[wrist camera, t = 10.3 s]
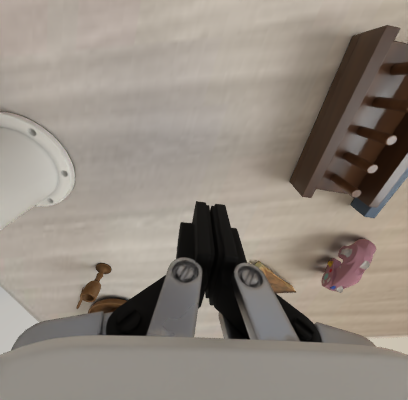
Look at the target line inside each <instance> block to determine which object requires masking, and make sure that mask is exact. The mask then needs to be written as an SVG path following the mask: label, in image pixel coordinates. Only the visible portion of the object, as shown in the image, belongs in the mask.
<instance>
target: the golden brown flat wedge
mask: <svg viewBox="0 0 408 400" xmlns="http://www.w3.org/2000/svg"><path fill="white" fill-rule="evenodd" d="M255 266H257V267H258V268H259V269H261V270H262V271H263V273H264V274H265V276H266V278H267V280H268V282H269V283H270V285H271V287H272V289H273V291H274V293H289V292H290V293H292V292H295V293H296V291H295V290H294V288H293V287H292V285H290V284H289V283H287V282H285V281H284V280H282V279H281V278H279V277H278V276H276V275H275V274H274V273H273V272H272V271H270V270H269V269H267V268H266V267H265V266H264V265H262V264H261V262H259V261H258V262H257V263H256V264H255Z"/></svg>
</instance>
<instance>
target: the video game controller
mask: <svg viewBox="0 0 408 400" xmlns="http://www.w3.org/2000/svg"><path fill="white" fill-rule="evenodd" d="M375 251H376V246H375V245H374V244H373V243H372V242H371V241H369V240H366V239H359V240H357V241H356V242H355V243H354V244H352V245H350V246H343V247H342V248H341V249H340V250H339V253H338V256H339V258H341V259H343V263H342V264H341V262H340V261H338V260H336V259H334V258H332V259H331V260H330V261H329V262H328V265H327V269H326V271H325V273H324V275H323V277H322V286H324V287H326V288H328V289H329V290H332V291H337V292H340V293H341V292H342V291H343V289H344V288H347V287H350V286H352V285H354V284H356V283H358V282H359V280H360V279H361V277H362V274H363V273H364V271H365V270H366V269H367V268H368V267H369V265H370V263H371V261H372V257H373V254H374V253H375Z"/></svg>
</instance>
